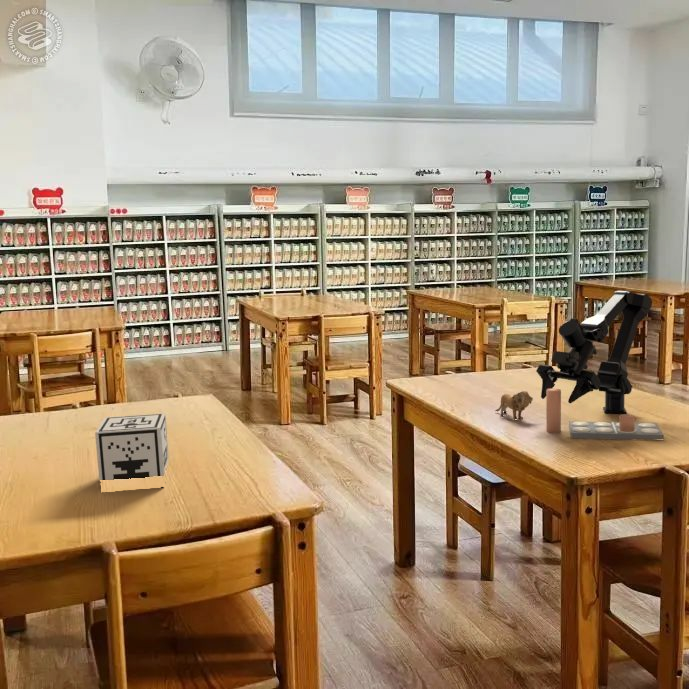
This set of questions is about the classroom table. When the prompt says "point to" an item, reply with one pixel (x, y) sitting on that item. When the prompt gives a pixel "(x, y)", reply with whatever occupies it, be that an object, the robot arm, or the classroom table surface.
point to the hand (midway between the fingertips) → (555, 400)
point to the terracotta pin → (553, 410)
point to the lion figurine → (515, 403)
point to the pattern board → (615, 429)
